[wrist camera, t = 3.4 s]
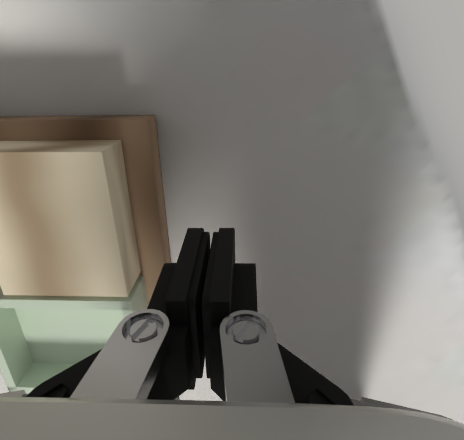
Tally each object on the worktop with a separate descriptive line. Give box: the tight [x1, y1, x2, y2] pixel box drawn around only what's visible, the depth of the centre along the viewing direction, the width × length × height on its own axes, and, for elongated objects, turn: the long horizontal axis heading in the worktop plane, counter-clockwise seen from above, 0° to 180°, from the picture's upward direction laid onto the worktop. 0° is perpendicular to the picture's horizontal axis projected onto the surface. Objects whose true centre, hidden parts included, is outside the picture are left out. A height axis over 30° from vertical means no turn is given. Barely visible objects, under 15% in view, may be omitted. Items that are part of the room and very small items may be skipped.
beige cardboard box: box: [0, 140, 141, 297], centre depth 18 cm, size 7×8×2 cm
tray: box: [0, 276, 148, 394], centre depth 22 cm, size 9×8×2 cm
